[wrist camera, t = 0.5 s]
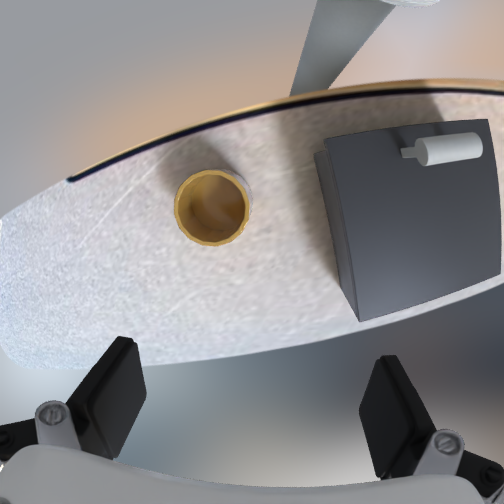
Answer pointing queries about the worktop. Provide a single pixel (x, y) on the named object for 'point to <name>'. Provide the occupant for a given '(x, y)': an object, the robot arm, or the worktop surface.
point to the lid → (417, 211)
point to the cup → (213, 206)
